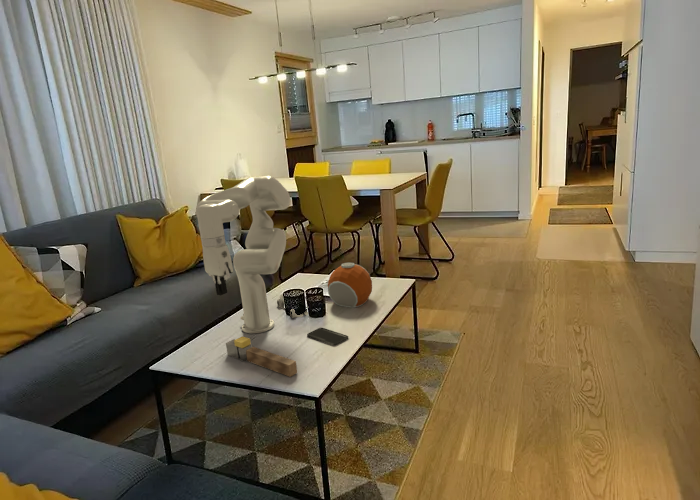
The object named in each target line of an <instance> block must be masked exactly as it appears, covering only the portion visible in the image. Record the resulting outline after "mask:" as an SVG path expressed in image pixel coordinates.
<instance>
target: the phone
mask: <svg viewBox="0 0 700 500" xmlns="http://www.w3.org/2000/svg"><path fill="white" fill-rule="evenodd" d="M306 336H307V338H309V339H312V340H315V341H318V342H320V343H324V344H326V345H330V346H333V347H336V346H339V345H340V344H342V343H344V342H346V341H348V340H349V336H348V335H346V334H343V333H340V332H337V331H334V330H331V329H327V328H325V327H319V328H318V327H317V328H316V329H314V330H312V331H310V332H308V333H307V334H306Z"/></svg>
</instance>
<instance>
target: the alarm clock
mask: <svg viewBox="0 0 700 500" xmlns="http://www.w3.org/2000/svg"><path fill="white" fill-rule="evenodd" d="M371 277H372V276H371V275H370V273H369V272H368V271H367V269H366V268H364V267H363V266H362V265H360V264H355V263H354V262H344V263H341V265H340V266H338V267H337V268H335V269H334V270H333V271H332V273H330V276H329V278H328V280H327V281H328V282H327V292H328V296H329V298H330V299H331V301H332V302H333V303H334V304H335V305H337V306H341V307H345V308H346V307H347V308H357V307H361V306H363V305H364V304H365V303H366V302H367V301H368V300H369V298H370V296H371V294H372V292H373V291H372V290H373V281H372V278H371Z"/></svg>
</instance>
